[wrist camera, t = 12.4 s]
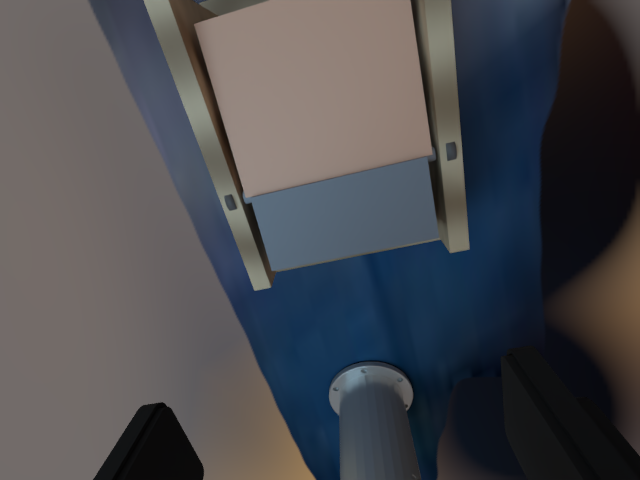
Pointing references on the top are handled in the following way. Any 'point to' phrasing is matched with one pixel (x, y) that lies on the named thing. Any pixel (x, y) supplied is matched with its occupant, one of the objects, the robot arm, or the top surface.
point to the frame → (203, 112)
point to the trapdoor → (325, 124)
